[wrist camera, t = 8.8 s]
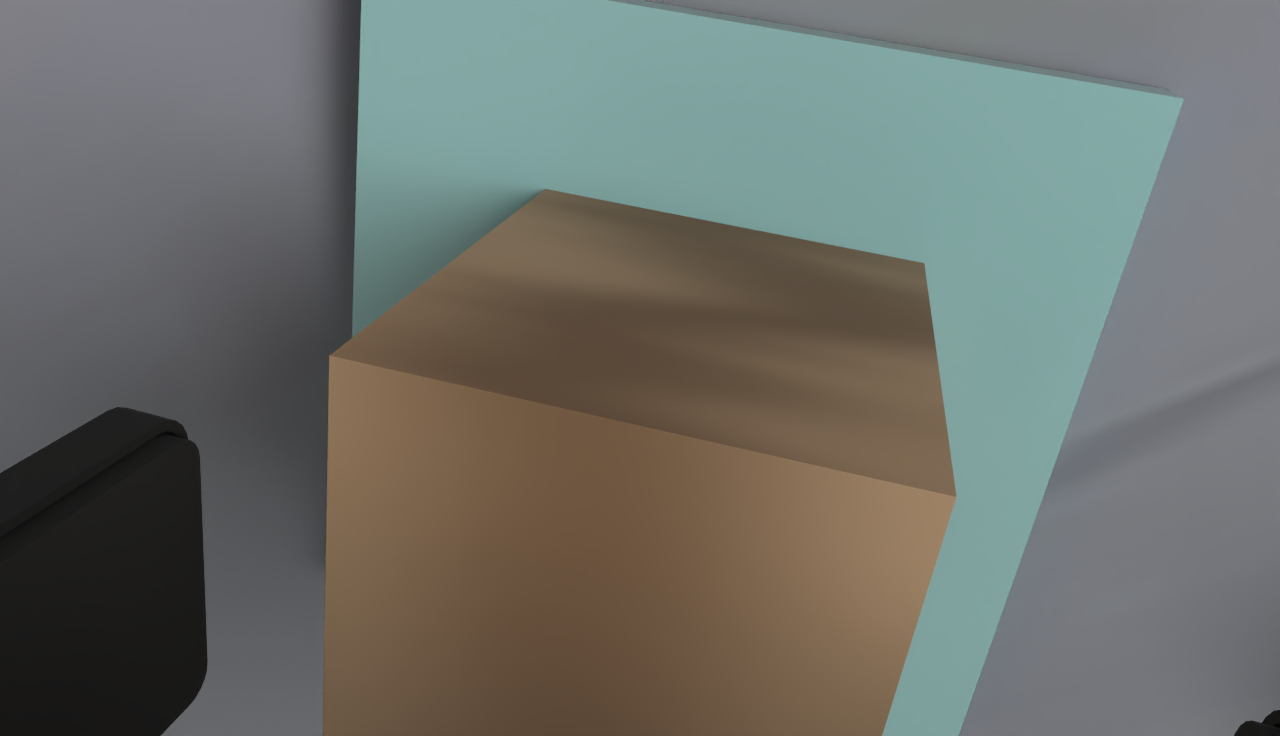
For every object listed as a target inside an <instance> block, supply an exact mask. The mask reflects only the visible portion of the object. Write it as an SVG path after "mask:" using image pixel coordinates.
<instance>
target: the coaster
mask: <svg viewBox="0 0 1280 736" xmlns="http://www.w3.org/2000/svg"><path fill="white" fill-rule="evenodd" d="M1183 101H1184V98H1182V97H1180V96H1178V95H1177V94H1175V93H1173V92H1171V91H1169V90H1167V89H1164V88H1158V87H1152V86H1146V85H1140V84H1134V83H1128V82H1122V81H1116V80H1111V79H1105V78H1099V77H1093V76H1087V75H1081V74H1075V73H1069V72H1063V71H1058V70H1052V69H1046V68H1040V67H1034V66H1028V65H1022V64H1016V63H1010V62H1004V61H999V60H993V59H987V58H981V57H975V56H969V55H963V54H957V53H951V52H946V51H940V50H934V49H928V48H922V47H916V46H910V45H904V44H898V43H893V42H887V41H881V40H875V39H869V38H863V37H857V36H851V35H845V34H840V33H834V32H828V31H822V30H816V29H810V28H804V27H798V26H792V25H786V24H781V23H775V22H769V21H763V20H757V19H751V18H745V17H739V16H733V15H728V14H722V13H716V12H710V11H704V10H698V9H692V8H686V7H680V6H675V5H669V4H663V3H657V2H651V1H645V0H361V29H360V65H359V101H358V137H357V172H356V208H355V244H354V280H353V316H352V338H353V337H354V336H355V335H357V334H358V333H359V332H361V331H362V330H363V329H364V328H366V327H367V326H368V325H370V324H371V323H372V322H374V321H375V320H376V319H377V318H379V317H380V316H381V315H383V314H384V313H385V312H387V311H388V310H389V309H390V308H392V307H393V306H394V305H396V304H397V303H398V302H399V301H401V300H402V299H403V298H405V297H406V296H407V295H409V294H410V293H411V292H412V291H414V290H415V289H416V288H418V287H419V286H420V285H422V284H423V283H424V282H425V281H427V280H428V279H429V278H431V277H432V276H433V275H435V274H436V273H437V272H438V271H440V270H441V269H442V268H444V267H445V266H446V265H448V264H449V263H450V262H451V261H453V260H454V259H455V258H457V257H458V256H459V255H461V254H462V253H463V252H464V251H466V250H467V249H468V248H470V247H471V246H472V245H474V244H475V243H476V242H477V241H479V240H480V239H481V238H483V237H484V236H485V235H486V234H488V233H489V232H490V231H492V230H493V229H494V228H496V227H497V226H498V225H499V224H501V223H502V222H503V221H505V220H506V219H507V218H509V217H510V216H511V215H512V214H514V213H515V212H516V211H518V210H519V209H520V208H522V207H523V206H524V205H525V204H527V203H528V202H529V201H531V200H532V199H533V198H535V197H536V196H537V195H538V194H540V193H541V192H542V191H544V190H545V189H549V190H554V191H559V192H564V193H569V194H574V195H579V196H585V197H590V198H595V199H600V200H605V201H610V202H615V203H620V204H625V205H630V206H636V207H641V208H646V209H651V210H656V211H661V212H666V213H671V214H676V215H681V216H687V217H692V218H697V219H702V220H707V221H712V222H717V223H722V224H727V225H732V226H738V227H743V228H748V229H753V230H758V231H763V232H768V233H773V234H778V235H783V236H789V237H794V238H799V239H804V240H809V241H814V242H819V243H824V244H829V245H834V246H840V247H845V248H850V249H855V250H860V251H865V252H870V253H875V254H880V255H885V256H891V257H896V258H901V259H906V260H911V261H916V262H921V263H924V264H925V272H926V279H927V286H928V293H929V301H930V308H931V315H932V323H933V330H934V337H935V344H936V352H937V359H938V366H939V373H940V381H941V388H942V395H943V402H944V410H945V417H946V424H947V431H948V439H949V446H950V453H951V461H952V468H953V475H954V482H955V490H956V500H955V504H954V507H953V510H952V513H951V516H950V520H949V523H948V526H947V529H946V532H945V536H944V539H943V542H942V545H941V548H940V552H939V555H938V558H937V561H936V565H935V568H934V571H933V574H932V577H931V581H930V584H929V587H928V590H927V593H926V597H925V600H924V603H923V606H922V609H921V613H920V616H919V619H918V622H917V625H916V629H915V632H914V635H913V638H912V642H911V645H910V648H909V651H908V654H907V658H906V661H905V664H904V667H903V670H902V674H901V677H900V680H899V683H898V686H897V690H896V693H895V696H894V699H893V702H892V706H891V709H890V712H889V715H888V718H887V722H886V725H885V728H884V731H883V735H882V736H959V733H960V730H961V727H962V725H963V722H964V719H965V716H966V713H967V710H968V708H969V705H970V702H971V699H972V696H973V693H974V691H975V688H976V685H977V682H978V679H979V677H980V674H981V671H982V668H983V665H984V662H985V660H986V657H987V654H988V651H989V648H990V645H991V643H992V640H993V637H994V634H995V631H996V629H997V626H998V623H999V620H1000V617H1001V614H1002V612H1003V609H1004V606H1005V603H1006V600H1007V597H1008V595H1009V592H1010V589H1011V586H1012V583H1013V581H1014V578H1015V575H1016V572H1017V569H1018V566H1019V564H1020V561H1021V558H1022V555H1023V552H1024V549H1025V547H1026V544H1027V541H1028V538H1029V535H1030V533H1031V530H1032V527H1033V524H1034V521H1035V518H1036V516H1037V513H1038V510H1039V507H1040V504H1041V501H1042V499H1043V496H1044V493H1045V490H1046V487H1047V485H1048V482H1049V479H1050V476H1051V473H1052V470H1053V468H1054V465H1055V462H1056V459H1057V456H1058V453H1059V451H1060V448H1061V445H1062V442H1063V439H1064V437H1065V434H1066V431H1067V428H1068V425H1069V422H1070V420H1071V417H1072V414H1073V411H1074V408H1075V405H1076V403H1077V400H1078V397H1079V394H1080V391H1081V389H1082V386H1083V383H1084V380H1085V377H1086V374H1087V372H1088V369H1089V366H1090V363H1091V360H1092V357H1093V355H1094V352H1095V349H1096V346H1097V343H1098V341H1099V338H1100V335H1101V332H1102V329H1103V326H1104V324H1105V321H1106V318H1107V315H1108V312H1109V309H1110V307H1111V304H1112V301H1113V298H1114V295H1115V293H1116V290H1117V287H1118V284H1119V281H1120V278H1121V276H1122V273H1123V270H1124V267H1125V264H1126V261H1127V259H1128V256H1129V253H1130V250H1131V247H1132V245H1133V242H1134V239H1135V236H1136V233H1137V230H1138V228H1139V225H1140V222H1141V219H1142V216H1143V213H1144V211H1145V208H1146V205H1147V202H1148V199H1149V197H1150V194H1151V191H1152V188H1153V185H1154V182H1155V180H1156V177H1157V174H1158V171H1159V168H1160V165H1161V163H1162V160H1163V157H1164V154H1165V151H1166V149H1167V146H1168V143H1169V140H1170V137H1171V134H1172V132H1173V129H1174V126H1175V123H1176V120H1177V117H1178V115H1179V112H1180V109H1181V106H1182V103H1183Z"/></svg>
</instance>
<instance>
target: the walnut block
mask: <svg viewBox="0 0 1280 736" xmlns="http://www.w3.org/2000/svg"><path fill="white" fill-rule="evenodd" d="M955 500H956V490H955V482H954V475H953V468H952V461H951V453H950V446H949V439H948V431H947V424H946V417H945V410H944V402H943V395H942V388H941V381H940V373H939V366H938V359H937V352H936V344H935V337H934V330H933V323H932V315H931V308H930V301H929V293H928V286H927V279H926V272H925V264H924V263H921V262H916V261H911V260H906V259H901V258H896V257H891V256H885V255H880V254H875V253H870V252H865V251H860V250H855V249H850V248H845V247H840V246H834V245H829V244H824V243H819V242H814V241H809V240H804V239H799V238H794V237H789V236H783V235H778V234H773V233H768V232H763V231H758V230H753V229H748V228H743V227H738V226H732V225H727V224H722V223H717V222H712V221H707V220H702V219H697V218H692V217H687V216H681V215H676V214H671V213H666V212H661V211H656V210H651V209H646V208H641V207H636V206H630V205H625V204H620V203H615V202H610V201H605V200H600V199H595V198H590V197H585V196H579V195H574V194H569V193H564V192H559V191H554V190H549V189H545V190H544V191H542V192H541V193H540V194H538V195H537V196H536V197H535V198H533V199H532V200H531V201H529V202H528V203H527V204H525V205H524V206H523V207H522V208H520V209H519V210H518V211H516V212H515V213H514V214H512V215H511V216H510V217H509V218H507V219H506V220H505V221H503V222H502V223H501V224H499V225H498V226H497V227H496V228H494V229H493V230H492V231H490V232H489V233H488V234H486V235H485V236H484V237H483V238H481V239H480V240H479V241H477V242H476V243H475V244H474V245H472V246H471V247H470V248H468V249H467V250H466V251H464V252H463V253H462V254H461V255H459V256H458V257H457V258H455V259H454V260H453V261H451V262H450V263H449V264H448V265H446V266H445V267H444V268H442V269H441V270H440V271H438V272H437V273H436V274H435V275H433V276H432V277H431V278H429V279H428V280H427V281H425V282H424V283H423V284H422V285H420V286H419V287H418V288H416V289H415V290H414V291H412V292H411V293H410V294H409V295H407V296H406V297H405V298H403V299H402V300H401V301H399V302H398V303H397V304H396V305H394V306H393V307H392V308H390V309H389V310H388V311H387V312H385V313H384V314H383V315H381V316H380V317H379V318H377V319H376V320H375V321H374V322H372V323H371V324H370V325H368V326H367V327H366V328H364V329H363V330H362V331H361V332H359V333H358V334H357V335H355V336H354V337H353V338H351V339H350V340H349V341H348V342H346V343H345V344H344V345H342V346H341V347H340V348H338V349H337V350H336V351H335V352H333V353H332V354H331V355H329V399H328V459H327V519H326V579H325V639H324V699H323V736H882V735H883V731H884V728H885V725H886V722H887V718H888V715H889V712H890V709H891V706H892V702H893V699H894V696H895V693H896V690H897V686H898V683H899V680H900V677H901V674H902V670H903V667H904V664H905V661H906V658H907V654H908V651H909V648H910V645H911V642H912V638H913V635H914V632H915V629H916V625H917V622H918V619H919V616H920V613H921V609H922V606H923V603H924V600H925V597H926V593H927V590H928V587H929V584H930V581H931V577H932V574H933V571H934V568H935V565H936V561H937V558H938V555H939V552H940V548H941V545H942V542H943V539H944V536H945V532H946V529H947V526H948V523H949V520H950V516H951V513H952V510H953V507H954V504H955Z"/></svg>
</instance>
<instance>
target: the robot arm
mask: <svg viewBox="0 0 1280 736" xmlns="http://www.w3.org/2000/svg"><path fill="white" fill-rule="evenodd" d="M206 671H207V637H206V611H205V584H204V557H203V530H202V503H201V476H200V456H199V450H198V448H197V446H196V444H195V443H193V442H192V441H190V440H188V437H187V433H186V431H185V429H184V427H183V425H181V424H180V423H178V422H177V421H175V420H171V419H167V418H163V417H159V416H156V415H152V414H148V413H144V412H140V411H136V410H133V409H129V408H121V407H117V408H114V409H111V410H109V411H107V412H105V413H103V414H101V415H100V416H98V417H96V418H95V419H93V420H91V421H89V422H88V423H86V424H84V425H82V426H81V427H79V428H77V429H76V430H74V431H72V432H70V433H69V434H67V435H65V436H64V437H62V438H60V439H58V440H57V441H55V442H53V443H51V444H50V445H48V446H46V447H45V448H43V449H41V450H39V451H38V452H36V453H34V454H32V455H31V456H29V457H27V458H26V459H24V460H22V461H20V462H19V463H17V464H15V465H14V466H12V467H10V468H8V469H7V470H5V471H3V472H1V473H0V736H161V735H162V734H163V733H164V731H165V730H166V729H167V728H168V727H169V726H170V725H171V724H172V723H173V722H174V721H175V720H176V719H177V718H178V717H179V716H180V715H181V714H182V713H183V711H184V710H185V709H186V708H187V707H188V706H189V705H190V704H191V703H192V701H193V700H194V699H195V698H196V696H197V694H198V692H199V691H200V689H201V687H202V684H203V682H204V679H205V675H206ZM1234 736H1280V710H1276V711H1273V712H1272V713H1271V714H1269V715H1268V716H1267V717H1266V718H1265V719H1264V721H1263V722H1262V723H1259V722H1255V721H1246V722H1244V723H1243V724H1242V725H1241V726H1240V727H1239V728H1238V730H1237V732H1236V733H1235V735H1234Z"/></svg>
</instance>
